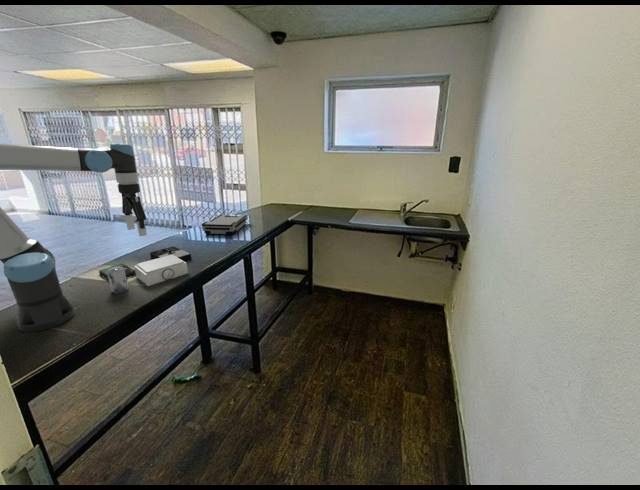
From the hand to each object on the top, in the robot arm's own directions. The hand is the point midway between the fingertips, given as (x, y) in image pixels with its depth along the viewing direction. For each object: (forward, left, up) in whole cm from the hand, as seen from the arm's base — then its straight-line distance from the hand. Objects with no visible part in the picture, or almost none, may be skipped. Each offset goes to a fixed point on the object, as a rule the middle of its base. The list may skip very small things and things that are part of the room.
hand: (137, 232), depth 128 cm
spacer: (-12, -4, -22) cm, 25 cm away
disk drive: (-8, +14, -23) cm, 28 cm away
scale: (+6, -2, -22) cm, 23 cm away
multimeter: (+18, +16, -23) cm, 33 cm away
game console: (+68, +43, -23) cm, 84 cm away
